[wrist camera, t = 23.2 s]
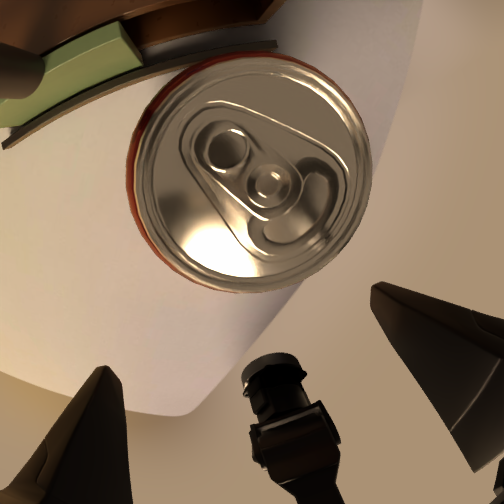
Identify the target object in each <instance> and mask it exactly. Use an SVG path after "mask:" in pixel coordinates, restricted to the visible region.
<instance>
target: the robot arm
mask: <svg viewBox="0 0 504 504" xmlns="http://www.w3.org/2000/svg"><path fill="white" fill-rule="evenodd" d="M370 307H371V310H372V312H373V313H374V315H375V317H376V319H377V320H378V322H379V324H380V326H381V327H382V329H383V331H384V333H385V335H386V336H387V338H388V340H389V342H390V343H391V345H392V346H393V348H394V349H395V351H396V352H397V353H398V355H399V356H400V358H401V359H402V360H403V362H404V363H405V365H406V366H407V367H408V369H409V371H410V372H411V373H412V375H413V376H414V378H415V379H416V381H417V382H418V384H419V385H420V387H421V388H422V390H423V391H424V393H425V394H426V396H427V397H428V399H429V400H430V402H431V403H432V404H433V406H434V408H435V409H436V411H437V412H438V414H439V416H440V417H441V419H442V420H443V422H444V423H445V425H446V427H447V428H448V430H449V431H450V433H451V435H452V436H453V438H454V440H455V441H456V443H457V445H458V447H459V448H460V450H461V452H462V453H463V455H464V457H465V459H466V460H467V462H468V464H469V466H470V467H471V469H472V471H473V472H474V473H476V472H477V471H479V470H480V469H482V468H483V467H484V466H486V465H487V464H488V463H490V462H491V461H493V460H494V459H495V458H497V457H498V456H499V455H501V454H502V453H503V452H504V319H501V318H496V317H493V316H489V315H486V314H483V313H480V312H477V311H474V310H470V309H467V308H464V307H461V306H458V305H455V304H452V303H449V302H446V301H443V300H439V299H436V298H434V297H430V296H427V295H424V294H421V293H418V292H415V291H411V290H409V289H405V288H402V287H399V286H396V285H392V284H390V283H386V282H379V283H376V284H374V285H372V287H371V297H370ZM306 376H307V372H306V371H304V370H298V369H292V368H286V367H281V366H276V365H271V364H269V365H266V366H265V367H264V368H263V370H262V371H261V372H260V373H259V374H258V376H257V377H256V378H255V379H254V380H253V381H252V383H251V384H250V385H249V386H248V387H247V388H246V390H245V391H244V392H243V396H244V397H245V398H249V399H250V403H251V406H252V410H253V413H254V414H255V415H257V418H258V421H259V423H258V424H252V425H250V428H251V431H250V432H249V435H250V438H251V443H252V458H253V460H254V462H257V463H259V465H260V466H261V468H262V469H263V470H264V471H267V470H268V473H269V475H270V478H271V479H272V480H273V481H274V482H275V483H277V484H278V485H279V486H281V487H282V488H283V489H285V490H286V491H288V492H289V493H291V494H292V495H293V496H294V497H295V498H296V501H297V503H298V504H345V503H344V501H343V499H342V496H341V494H340V492H339V490H338V487H337V485H336V478H337V473H338V468H339V463H340V451H339V449H338V446H337V445H339V444H340V443H341V440H340V436H339V434H338V432H337V429H336V427H335V425H334V423H333V421H332V419H331V417H330V416H329V414H328V412H327V410H326V409H325V407H324V405H323V404H322V402H321V400H318V401H317V402H315V403H313V404H311V403H310V401H309V399H308V397H307V394H306V392H305V390H304V388H303V386H302V383H301V381H302V380H303V379H304V378H305V377H306ZM493 491H494V493H495V494H496V496H497V497H496V498H495V499H494V500H493V501H492V502H491V503H490V504H504V457H503V458H502V459H501V460H500V461H499V466H498V471H497V476H496V481H495V485H494V489H493ZM0 504H133V499H132V491H131V483H130V473H129V461H128V447H127V425H126V416H125V408H124V399H123V389H122V383H121V381H120V379H119V378H118V377H117V376H116V375H115V373H114V372H113V371H112V370H111V368H110V367H109V366H107V365H105V366H99V367H97V368H96V369H95V370H94V371H93V373H92V374H91V375H90V376H89V378H88V379H87V380H86V382H85V383H84V384H83V386H82V387H81V388H80V390H79V391H78V392H77V394H76V395H75V396H74V398H73V399H72V400H71V402H70V403H69V404H68V406H67V407H66V408H65V410H64V411H63V413H62V414H61V415H60V417H59V418H58V420H57V421H56V422H55V424H54V425H53V427H52V428H51V429H50V431H49V432H48V434H47V435H46V437H45V439H43V441H42V442H41V444H40V445H39V447H38V448H37V450H36V451H35V452H34V454H33V455H32V457H31V458H30V459H29V460H28V462H27V463H26V464H25V466H24V467H23V468H22V469H21V471H20V472H19V473H18V474H17V476H16V477H15V478H14V480H13V481H12V482H11V483H10V484H9V486H7V487H6V488H4V489H3V490H0Z"/></svg>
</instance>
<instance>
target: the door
mask: <svg viewBox="0 0 504 504" xmlns="http://www.w3.org/2000/svg"><path fill="white" fill-rule="evenodd" d="M143 66H144V64H143V60H142V55H141V54H140V52H139V51H138V49H137V48H136V46H135V45H134V43H133V42H132V40H131V39H130V37H129V36H128V34H127V33H126V31H125V30H124V28H123V27H122V25H121V24H120V22H119V21H116V22H113V23H111V24H108V25H106V26H104V27H101V28H99V29H97V30H94V31H92V32H90V33H88V34H86V35H84V36H82V37H79V38H77V39H75V40H73V41H72V42H70V43H68V44H66V45H64V46H62V47H60V48H58V49H57V50H55V51H53V52H51V53H50V54H48V55H46V56H45V57H43V58H42V57H41V56H39V55H37V54H34V53H32V52H29V51H26V50H23V49H20V48H17V47H14V46H11V45H8V44H5V43H2V42H0V128H5V127H13V126H21V125H25V124H27V123H28V122H30V121H32V120H33V119H35V118H36V117H38V116H40V115H41V114H43V113H44V112H46V111H48V110H50V109H51V108H53V107H55V106H57V105H58V104H60V103H62V102H64V101H66V100H68V99H70V98H71V97H73V96H75V95H77V94H79V93H81V92H83V91H85V90H88V89H90V88H92V87H94V86H96V85H98V84H101V83H103V82H105V81H108V80H110V79H112V78H115V77H117V76H120V75H122V74H125V73H127V72H130V71H133V70H136V69H138V68H141V67H143Z"/></svg>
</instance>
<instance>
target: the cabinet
mask: <svg viewBox="0 0 504 504" xmlns="http://www.w3.org/2000/svg"><path fill="white" fill-rule="evenodd" d="M286 1H287V0H0V42H2V43H5V44H8V45H11V46H14V47H17V48H20V49H23V50H26V51H29V52H32V53H34V54H37V55H39V56H41V57H42V58H43V57H45V56H46V55H48V54H50V53H51V52H53V51H55V50H57V49H58V48H60V47H62V46H64V45H66V44H68V43H70V42H72V41H73V40H75V39H77V38H79V37H82V36H84V35H86V34H88V33H90V32H92V31H94V30H97V29H99V28H101V27H104V26H106V25H108V24H111V23H113V22H116V21H119V22H120V24H121V25H122V27H123V28H124V30H125V31H126V33H127V34H128V36H129V37H130V39H131V40H132V42H133V43H134V45H135V46H136V48H137V49H138V51H139V50H142V49H145V48H148V47H151V46H154V45H157V44H161V43H164V42H168V41H171V40H175V39H179V38H183V37H187V36H191V35H195V34H200V33H204V32H209V31H215V30H220V29H226V28H232V27H239V26H247V25H256V24H265V23H266V22H267V21H268V20H269V19H270V18H271V17H272V16H273V15H274V13H275V12H276V11H277V10H278V9H279V8H280V7H281V6H282V5H283V4H284V3H285V2H286ZM277 48H278V45H277V41H276V40H269V41H260V42H252V43H245V44H238V45H232V46H227V47H221V48H216V49H211V50H206V51H202V52H198V53H193V54H189V55H185V56H182V57H178V58H174V59H171V60H167V61H164V62H161V63H158V64H154V65H151V66H148V67H145V68H142V69H140V70H137V71H134V72H131V73H129V74H126V75H123V76H121V77H118V78H116V79H113V80H111V81H109V82H106V83H104V84H102V85H99V86H97V87H95V88H93V89H91V90H88V91H86V92H84V93H82V94H80V95H78V96H76V97H74V98H72V99H70V100H68V101H67V102H65V103H63V104H61V105H59V106H57V107H56V108H54V109H52V110H50V111H49V112H47V113H45V114H44V115H42V116H40V117H39V118H37V119H35V120H34V121H32V122H31V123H29V124H28V125H26V126H25V127H23V128H22V129H20V130H19V131H17V132H16V133H14V134H13V135H11V136H10V137H9V138H7V139H6V140H5V141H3V142H2V143H1V144H2V148H3V150H5V149H9V148H12V147H13V146H15V145H16V144H18V143H19V142H21V141H22V140H24V139H25V138H27V137H28V136H30V135H31V134H33V133H34V132H36V131H38V130H39V129H41V128H43V127H44V126H46V125H48V124H50V123H51V122H53V121H55V120H57V119H58V118H60V117H62V116H64V115H66V114H68V113H70V112H72V111H73V110H75V109H77V108H79V107H82V106H84V105H86V104H88V103H90V102H92V101H94V100H96V99H99V98H101V97H103V96H105V95H108V94H110V93H113V92H115V91H117V90H120V89H122V88H125V87H128V86H130V85H133V84H136V83H138V82H141V81H144V80H147V79H150V78H153V77H156V76H159V75H162V74H165V73H169V72H172V71H176V70H179V69H183V68H186V67H190V66H192V65H194V64H197V63H199V62H201V61H203V60H205V59H207V58H209V57H213V56H217V55H221V54H225V53H229V52H234V51H269V52H272V51H274V50H275V49H277Z"/></svg>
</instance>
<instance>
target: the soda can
mask: <svg viewBox="0 0 504 504" xmlns="http://www.w3.org/2000/svg"><path fill="white" fill-rule="evenodd" d="M371 185H372V157H371V150H370V144H369V139H368V136H367V133H366V130H365V127H364V124H363V121H362V119H361V117H360V115H359V113H358V112H357V110H356V108H355V107H354V105H353V103H352V102H351V100H350V98H349V97H348V96H347V95H346V94H345V93H344V92H343V91H342V89H341V88H340V87H339V86H338V85H337V84H336V83H335V82H334V81H333V80H332V79H330V78H329V77H328V76H326V75H325V74H324V73H322V72H321V71H319V70H318V69H317V68H315V67H313V66H311V65H309V64H307V63H305V62H302V61H300V60H298V59H296V58H293V57H291V56H288V55H283V54H279V53H274V52H269V51H234V52H229V53H225V54H221V55H217V56H213V57H209V58H207V59H205V60H203V61H201V62H199V63H197V64H194V65H192V66H190V67H188V68H186V69H185V70H183V71H182V72H181V73H179V74H178V75H177V76H175V77H174V78H173V79H172V80H170V81H169V82H168V83H167V84H166V85H164V86H163V87H162V88H161V89H160V91H159V92H158V93H157V94H156V95H155V97H154V98H153V99H152V100H151V102H150V103H149V104H148V105H147V107H146V108H145V110H144V112H143V113H142V115H141V117H140V119H139V121H138V123H137V125H136V128H135V130H134V132H133V134H132V138H131V142H130V146H129V150H128V154H127V159H126V191H127V196H128V201H129V205H130V210H131V213H132V215H133V218H134V220H135V222H136V225H137V227H138V229H139V231H140V234H141V235H142V237H143V238H144V239H145V241H146V242H147V243H148V245H149V246H150V248H151V249H152V250H153V252H154V253H155V254H156V255H157V256H158V257H159V258H160V259H161V260H162V261H163V262H164V263H165V264H167V265H168V266H169V267H170V268H171V269H172V270H173V271H175V272H176V273H178V274H180V275H181V276H183V277H185V278H186V279H188V280H190V281H192V282H193V283H196V284H199V285H202V286H204V287H207V288H210V289H213V290H217V291H224V292H230V293H262V292H267V291H272V290H277V289H282V288H285V287H287V286H290V285H293V284H295V283H298V282H300V281H302V280H304V279H306V278H308V277H309V276H311V275H313V274H314V273H316V272H318V271H319V270H321V269H322V268H323V267H324V266H325V265H327V264H328V263H329V262H330V261H332V260H333V259H334V258H335V257H336V256H337V255H338V254H339V253H340V251H341V250H342V249H343V248H344V247H345V246H346V245H347V243H348V242H349V241H350V239H351V237H352V236H353V234H354V233H355V231H356V229H357V228H358V226H359V224H360V222H361V219H362V217H363V215H364V212H365V210H366V207H367V204H368V200H369V195H370V191H371Z"/></svg>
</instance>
